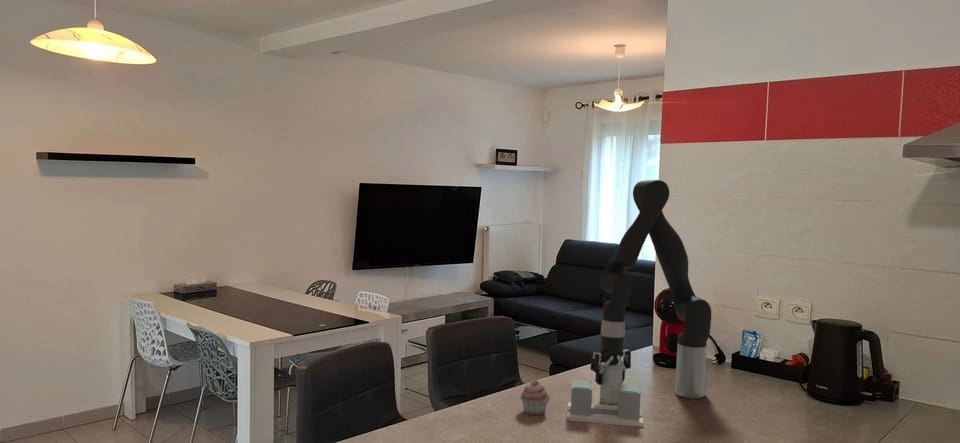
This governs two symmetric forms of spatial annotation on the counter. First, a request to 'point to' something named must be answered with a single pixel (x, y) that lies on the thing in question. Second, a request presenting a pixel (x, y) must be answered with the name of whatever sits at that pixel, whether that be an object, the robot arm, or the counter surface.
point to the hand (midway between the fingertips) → (609, 382)
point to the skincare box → (611, 383)
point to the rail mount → (618, 415)
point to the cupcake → (534, 398)
